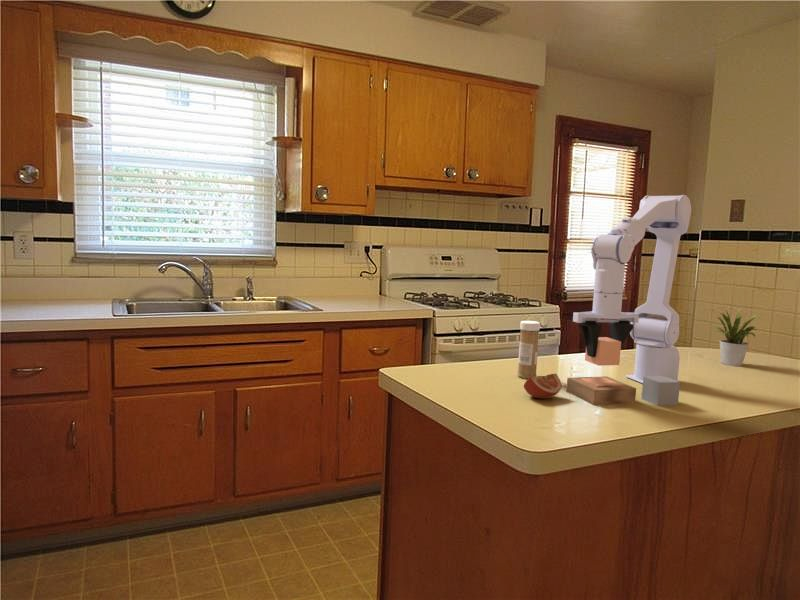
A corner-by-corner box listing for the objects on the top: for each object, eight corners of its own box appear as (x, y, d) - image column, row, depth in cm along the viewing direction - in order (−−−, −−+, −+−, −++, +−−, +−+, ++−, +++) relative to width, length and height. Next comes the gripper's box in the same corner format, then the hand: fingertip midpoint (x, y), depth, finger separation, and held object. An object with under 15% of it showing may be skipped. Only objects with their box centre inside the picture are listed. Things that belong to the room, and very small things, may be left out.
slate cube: (661, 398, 127) (663, 375, 126) (677, 405, 122) (680, 381, 121) (641, 399, 125) (643, 376, 125) (657, 406, 121) (659, 382, 120)
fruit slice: (543, 391, 128) (545, 369, 128) (568, 399, 123) (570, 376, 122) (516, 396, 123) (518, 373, 123) (541, 405, 118) (543, 381, 117)
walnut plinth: (605, 391, 132) (606, 375, 131) (634, 404, 122) (636, 386, 122) (566, 393, 129) (567, 376, 129) (593, 406, 119) (594, 388, 119)
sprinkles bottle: (540, 378, 140) (544, 322, 139) (526, 380, 138) (530, 323, 136) (526, 373, 144) (530, 319, 142) (512, 375, 141) (516, 320, 140)
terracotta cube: (605, 359, 128) (607, 337, 127) (619, 365, 123) (621, 341, 123) (584, 360, 127) (586, 337, 126) (598, 365, 122) (600, 341, 121)
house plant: (694, 363, 164) (700, 305, 162) (701, 355, 175) (707, 301, 173) (753, 372, 156) (760, 311, 154) (757, 363, 167) (764, 306, 165)
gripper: (626, 290, 129) (621, 351, 130) (567, 289, 125) (562, 352, 126) (647, 294, 122) (641, 358, 123) (585, 293, 118) (580, 359, 120)
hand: (602, 356), depth 125 cm, fingers closed on terracotta cube, 5 cm apart
